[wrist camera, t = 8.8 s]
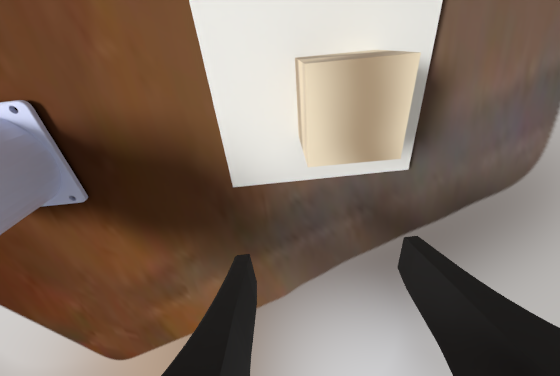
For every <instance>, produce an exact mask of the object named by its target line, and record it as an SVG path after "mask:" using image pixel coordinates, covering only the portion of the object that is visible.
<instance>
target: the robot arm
mask: <svg viewBox="0 0 560 376" xmlns="http://www.w3.org/2000/svg"><path fill="white" fill-rule="evenodd" d="M15 107H16V108H17V109H18V111H17V110H16V109H15ZM73 196H74V197H75V198H74V197H73ZM87 199H88V195H87V194H86V192H85V190H84V189H83V187H82V185H81V184H80V182H79V181H78V179H77V177H76V176H75V174H74V173H73V171H72V169H71V168H70V166H69V164H68V163H67V161H66V160H65V158H64V156H63V155H62V153H61V152H60V150H59V148H58V147H57V145H56V143H55V142H54V140H53V139H52V137H51V135H50V134H49V132H48V131H47V129H46V127H45V126H44V124H43V122H42V121H41V119H40V118H39V116H38V114H37V113H36V111H35V110H34V108H33V107H32V105H31V104H30V103H28V102H27V101H24V100H16V101H7V102H0V235H1V234H2V233H4V232H5V231H7V230H8V229H9V228H11V227H12V226H14V225H15V224H16V223H18V222H19V221H21V220H22V219H23V218H25V217H26V216H28V215H29V214H30V213H32V212H33V211H35V210H36V209H37V208H39V207H42V206H52V205H62V204H71V203H81V202H84V201H86V200H87ZM398 270H399V272H400V275H401V277H402V279H403V282H404V284H405V286H406V288H407V290H408V292H409V294H410V296H411V297H412V299H413V301H414V303H415V304H416V306H417V308H418V310H419V312H420V313H421V315H422V317H423V318H424V320H425V322H426V323H427V325H428V327H429V329H430V330H431V332H432V334H433V336H434V337H435V339H436V341H437V343H438V345H439V347H440V349H441V351H442V353H443V355H444V357H445V359H446V361H447V363H448V366H449V368H450V370H451V372H452V374H453V376H560V328H559V327H557V326H555V325H553V324H550V323H549V322H547V321H545V320H543V319H542V318H540V317H538V316H536V315H534V314H533V313H531V312H529V311H527V310H525V309H524V308H522V307H521V306H519V305H517V304H515V303H514V302H512V301H510V300H509V299H507V298H505V297H504V296H502V295H501V294H499V293H497V292H496V291H494V290H493V289H491V288H490V287H488V286H487V285H485V284H484V283H482V282H480V281H479V280H477V279H476V278H475V277H473V276H472V275H470V274H469V273H467V272H466V271H464V270H463V269H462V268H460V267H459V266H457V265H456V264H455V263H453V262H452V261H451V260H449V259H448V258H446V257H445V256H444V255H442V254H441V253H439V252H438V251H437V250H436V249H434V248H433V247H432V246H430V245H429V244H428V243H426V242H425V241H424V240H422V239H421V238H419V237H418V236H412V237H405V238H404V240H403V244H402V249H401V254H400V259H399V264H398ZM256 305H257V281H256V277H255V274H254V270H253V266H252V262H251V258H250V254H246V255H237V256H236V257H235V258H234V261H233V263H232V265H231V268H230V270H229V272H228V274H227V276H226V278H225V280H224V282H223V284H222V286H221V288H220V290H219V291H218V293H217V295H216V297H215V299H214V301H213V302H212V304H211V306H210V307H209V309H208V311H207V312H206V314H205V316H204V317H203V319H202V321H201V322H200V324H199V325H198V327H197V328H196V330H195V331H194V333H193V334H192V336H191V337H190V339H189V340H188V341H187V343H186V344H185V346H184V347H183V348H182V350H181V351H180V352H179V354H178V355H177V356H176V358H175V359H174V360H173V362H172V363H171V364H170V365H169V367H168V368H167V369H166V371H165V372H164V373H163V374H162V375H161V376H250V364H251V351H252V343H253V334H254V324H255V315H256Z"/></svg>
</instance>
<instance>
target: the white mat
mask: <svg viewBox="0 0 560 376" xmlns="http://www.w3.org/2000/svg"><path fill="white" fill-rule="evenodd" d="M189 1H190V6H191V10H192V14H193V18H194V23H195V27H196V31H197V35H198V40H199V44H200V48H201V52H202V57H203V61H204V65H205V69H206V74H207V78H208V82H209V86H210V91H211V95H212V99H213V104H214V108H215V112H216V116H217V121H218V125H219V129H220V133H221V138H222V142H223V146H224V150H225V155H226V159H227V163H228V167H229V172H230V176H231V180H232V184H233V187H241V186H251V185H261V184H270V183H280V182H290V181H300V180H310V179H319V178H329V177H339V176H349V175H359V174H368V173H378V172H388V171H398V170H408V169H409V164H410V159H411V154H412V149H413V144H414V139H415V134H416V129H417V124H418V120H419V115H420V110H421V105H422V100H423V95H424V90H425V85H426V80H427V75H428V70H429V65H430V60H431V56H432V51H433V46H434V41H435V36H436V31H437V26H438V21H439V16H440V11H441V6H442V1H443V0H189ZM368 50H391V51H407V52H421V56H420V61H419V66H418V71H417V76H416V81H415V87H414V92H413V97H412V102H411V107H410V112H409V118H408V123H407V128H406V133H405V138H404V144H403V149H402V154H401V159H393V160H382V161H371V162H360V163H349V164H339V165H328V166H317V167H308V166H307V163H306V159H305V156H304V153H303V149H302V146H301V143H300V139H299V134H298V112H297V91H296V70H295V58H297V57H307V56H318V55H328V54H338V53H348V52H358V51H368Z"/></svg>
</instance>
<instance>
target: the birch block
mask: <svg viewBox="0 0 560 376" xmlns="http://www.w3.org/2000/svg"><path fill="white" fill-rule="evenodd" d="M420 56H421V52H407V51H391V50H368V51H358V52H348V53H338V54H328V55H318V56H307V57H297V58H295V70H296V91H297V112H298V134H299V139H300V143H301V146H302V149H303V153H304V156H305V159H306V163H307V166H308V167H317V166H328V165H339V164H349V163H360V162H371V161H382V160H393V159H401V154H402V149H403V144H404V138H405V133H406V128H407V123H408V118H409V112H410V107H411V102H412V97H413V92H414V87H415V81H416V76H417V71H418V66H419V61H420Z"/></svg>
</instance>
